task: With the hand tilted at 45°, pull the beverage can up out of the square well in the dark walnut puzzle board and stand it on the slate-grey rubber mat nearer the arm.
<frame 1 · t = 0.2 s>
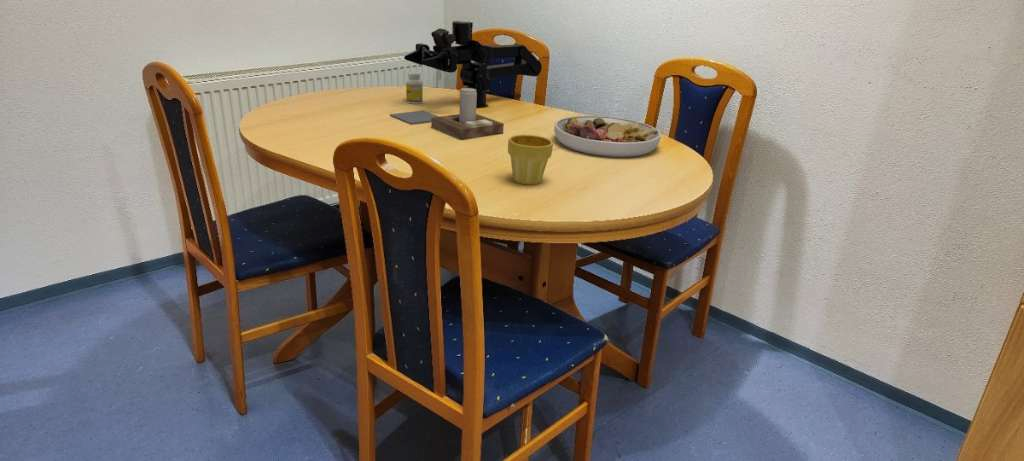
hand: (413, 60, 204), 17 cm above the table, tool horizontal, fingers open, 9 cm apart
bowl: (605, 146, 192), on the table
rubber mat: (417, 118, 206), on the table
beverage can: (467, 131, 196), resting in puzzle board
supplement bottle: (414, 102, 226), on the table
puzzle board: (467, 130, 196), on the table
plant pot: (527, 181, 158), on the table
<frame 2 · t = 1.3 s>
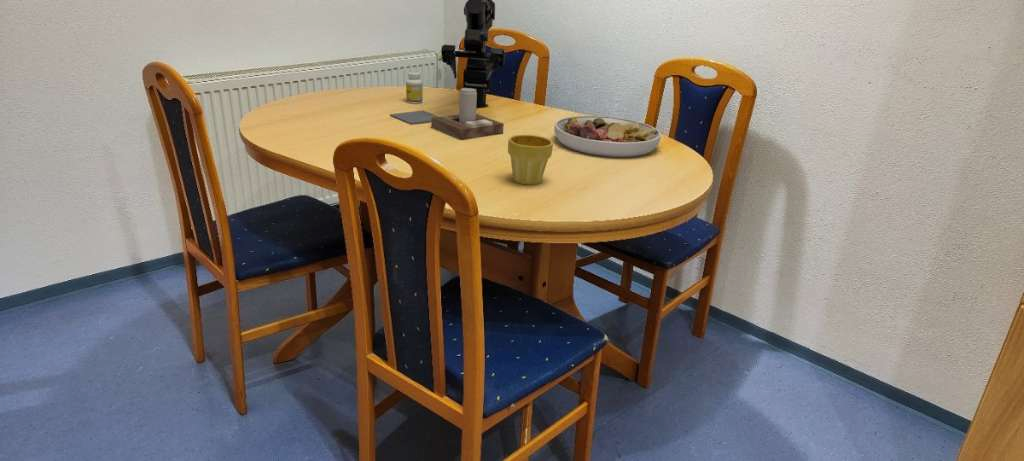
hand: (470, 79, 198), 14 cm above the table, tool tilted 45°, fingers open, 9 cm apart
nothing on the table moved.
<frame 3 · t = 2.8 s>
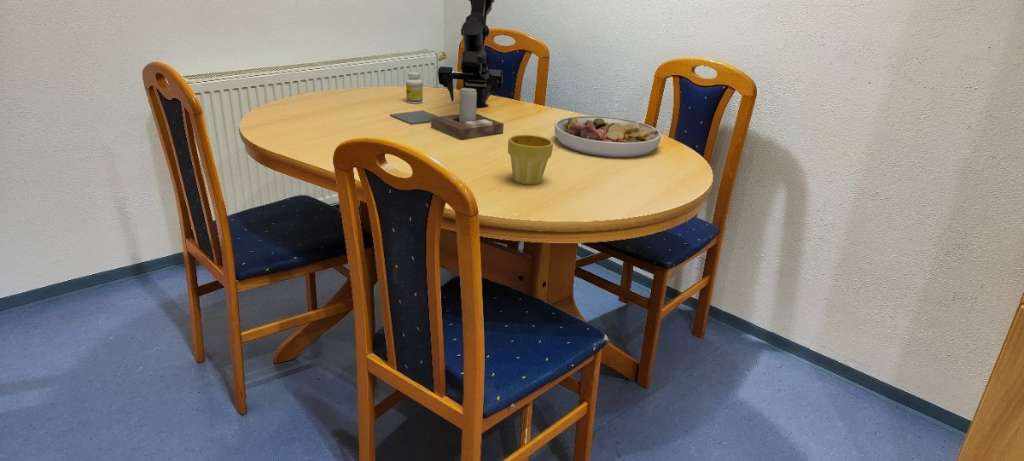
hand: (468, 101, 194), 8 cm above the table, tool tilted 45°, fingers open, 9 cm apart
nothing on the table moved.
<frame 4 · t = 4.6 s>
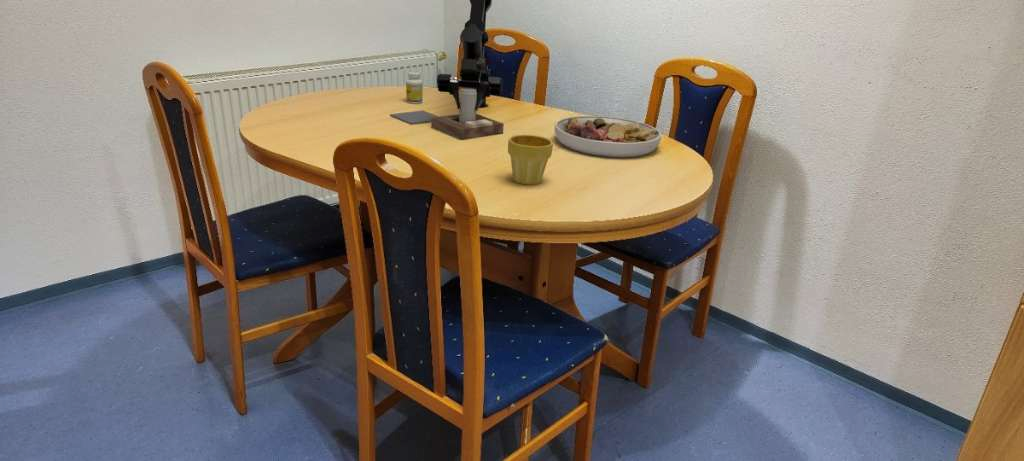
hand: (467, 109, 193), 7 cm above the table, tool tilted 45°, fingers closed on beverage can, 5 cm apart
beverage can: (467, 131, 196), resting in puzzle board, touching gripper
everything else where it was.
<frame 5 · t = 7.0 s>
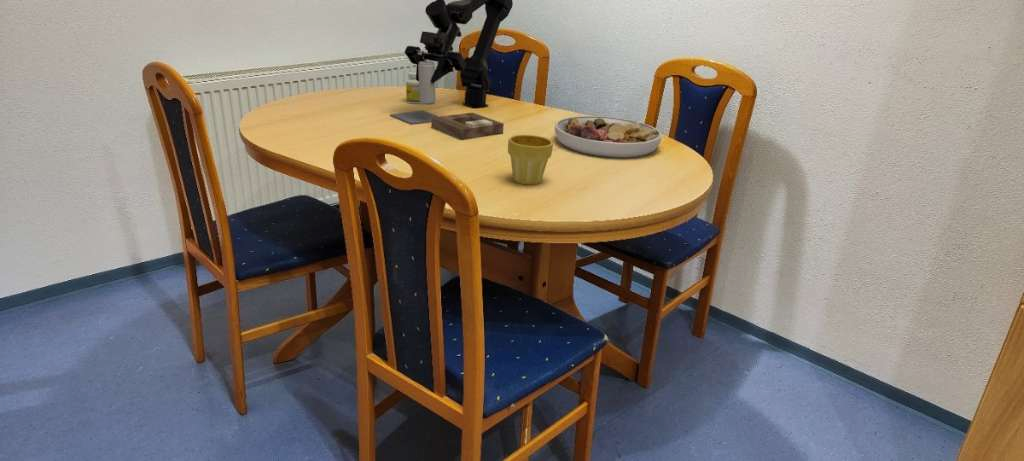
hand: (424, 81, 197), 12 cm above the table, tool tilted 45°, fingers closed on beverage can, 5 cm apart
beverage can: (427, 103, 201), point 5 cm above the table, touching gripper
everything else where it was.
when the fingers open (8 cm above the table, at t = 9.4 s): beverage can stays where it is, resting on rubber mat.
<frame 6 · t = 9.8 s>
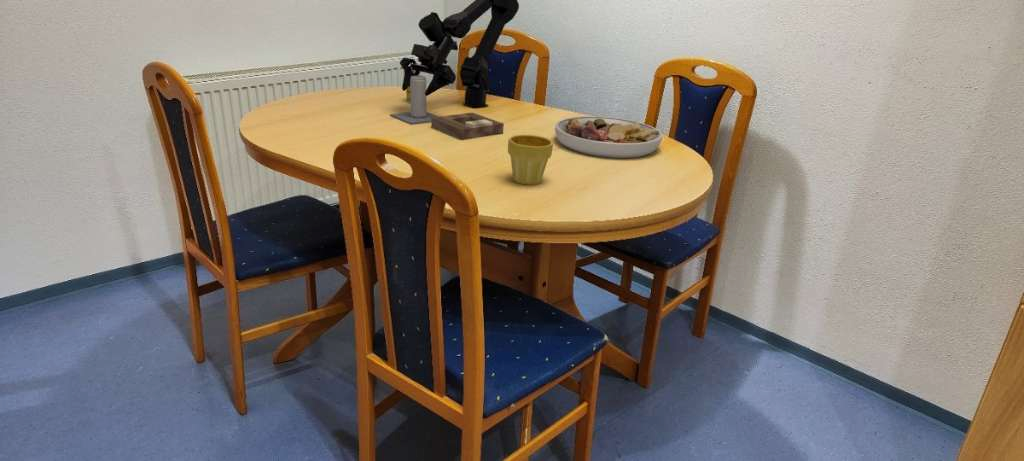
hand: (414, 92, 202), 8 cm above the table, tool tilted 45°, fingers open, 9 cm apart
beverage can: (418, 117, 206), resting on rubber mat
everything else where it was.
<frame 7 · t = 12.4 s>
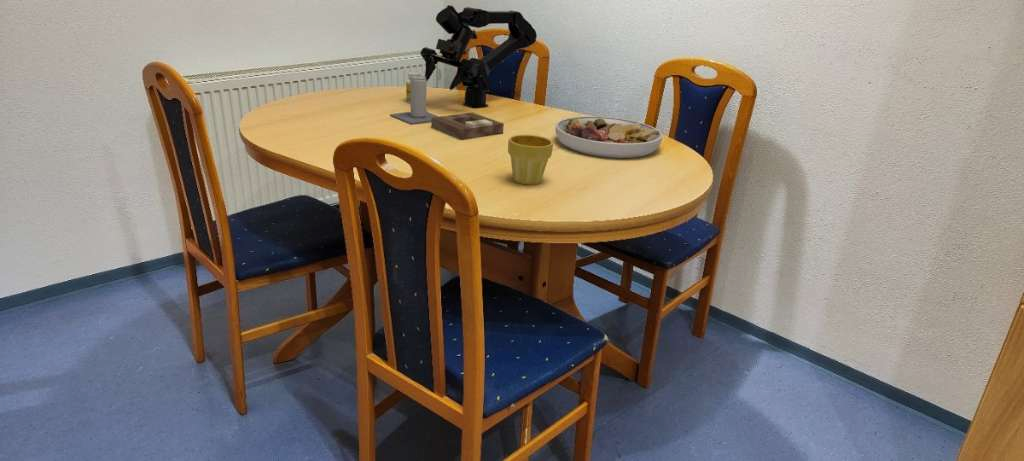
hand: (437, 85, 210), 9 cm above the table, tool tilted 40°, fingers open, 9 cm apart
nothing on the table moved.
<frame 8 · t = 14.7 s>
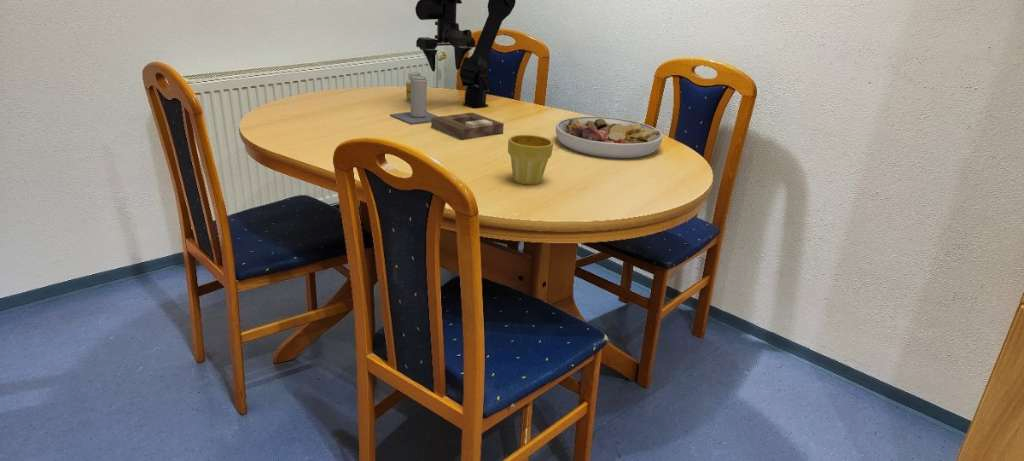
hand: (445, 70, 212), 13 cm above the table, tool pointing down, fingers open, 9 cm apart
at the end: beverage can inside the target area on the rubber mat (0.4 cm from its centre), point 0.3 cm above the rubber mat's base; beverage can tilted 0°; the gripper is holding nothing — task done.
